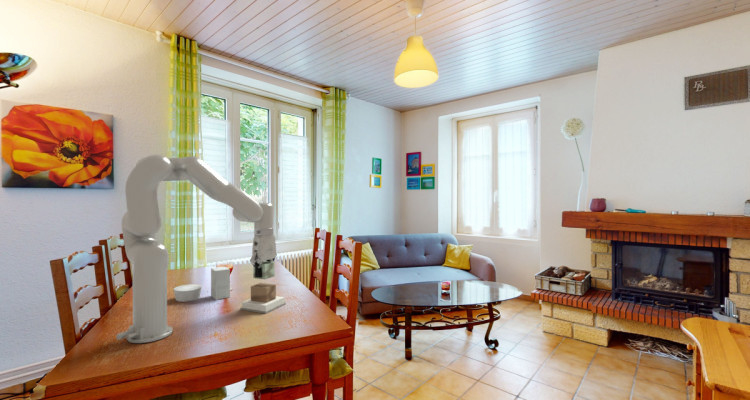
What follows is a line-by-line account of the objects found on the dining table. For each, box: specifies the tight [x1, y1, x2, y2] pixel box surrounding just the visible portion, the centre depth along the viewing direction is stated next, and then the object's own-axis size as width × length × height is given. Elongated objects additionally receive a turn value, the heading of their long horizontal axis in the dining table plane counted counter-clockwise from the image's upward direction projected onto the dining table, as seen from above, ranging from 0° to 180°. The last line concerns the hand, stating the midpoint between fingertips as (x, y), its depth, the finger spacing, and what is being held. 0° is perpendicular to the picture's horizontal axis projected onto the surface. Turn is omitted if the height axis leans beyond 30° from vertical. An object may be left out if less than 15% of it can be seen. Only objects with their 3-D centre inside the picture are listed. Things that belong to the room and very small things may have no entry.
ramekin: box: [173, 283, 202, 303], centre depth 154 cm, size 11×11×5 cm
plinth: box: [240, 295, 287, 314], centre depth 143 cm, size 13×13×3 cm
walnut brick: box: [250, 282, 277, 303], centre depth 143 cm, size 6×8×6 cm
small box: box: [210, 266, 231, 301], centre depth 157 cm, size 8×6×13 cm
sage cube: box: [252, 261, 276, 280], centre depth 143 cm, size 6×6×6 cm
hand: (264, 275), depth 143 cm, fingers closed on sage cube, 6 cm apart
